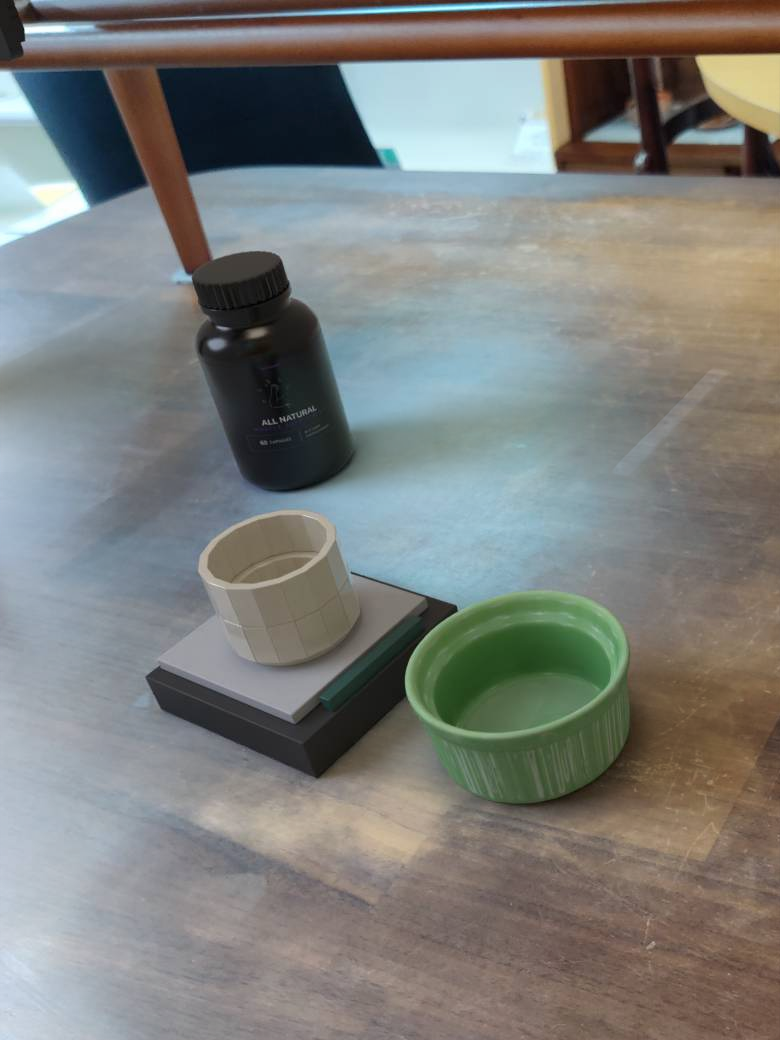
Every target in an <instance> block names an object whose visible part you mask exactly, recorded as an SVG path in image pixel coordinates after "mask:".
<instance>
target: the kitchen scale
mask: <svg viewBox="0 0 780 1040" xmlns="http://www.w3.org/2000/svg"><path fill="white" fill-rule="evenodd" d="M350 572H351V575H352V578H353V581H354V584H355V587H356V590H357V593H358V596H359V601H360V615H359V617H358V618H357V620H356V622H355V624H354V626H353V627H352V629H351V631H350V633H349V634H348V636H347V637H346V638H345V639H344V640H343V641H342V642H341V643H340V644H339V645H338V646H336V647H335V648H334V649H332V650H331V651H329V652H328V653H326V654H324V655H322V656H320V657H318V658H315V659H313V660H310V661H307V662H304V663H300V664H296V665H290V666H268V665H263V664H259V663H256V662H253V661H250V660H248V659H245V658H243V657H240V656H239V655H238V654H237V653H236V652H235V650H234V649H233V648H232V646H231V645H230V643H229V641H228V639H227V637H226V634H225V632H224V630H223V627H222V625H221V623H220V620H219V618H218V616H217V613H216V612H215V614H213V615H212V616H210V617H209V619H207V620H205V622H203V623H202V624H200V625H199V626H198V627H197V628H195V629H194V630H193V631H191V632H190V633H189V634H188V635H186V636H185V637H183V638H182V639H181V640H179V641H178V642H177V643H176V644H174V645H173V646H172V647H170V648H169V649H167V650H166V651H165V652H164V653H162V654H161V655H160V656H158V657H157V658H156V661H157V663H158V665H157V666H156V667H155V668H154V669H152V671H150V672H149V673H147V674H146V675H145V677H144V678H145V680H146V682H147V684H148V686H149V688H150V690H151V692H152V694H153V696H154V699H155V700H156V702H157V704H158V706H159V707H160V710H162V711H165V712H167V713H169V714H171V715H173V716H175V717H178V718H180V719H182V720H185V721H187V722H189V723H191V724H194V725H196V726H198V727H200V728H202V729H205V730H207V731H209V732H211V733H214V734H216V735H218V736H221V737H223V738H225V739H228V740H230V741H232V742H234V743H236V744H239V745H241V746H243V747H246V748H248V749H249V750H252V751H255V752H257V753H260V754H262V755H263V756H265V757H268V758H270V759H272V760H275V761H277V762H280V763H282V764H283V765H286V766H289V767H291V768H293V769H296V770H298V771H300V772H302V773H305V774H307V775H309V776H312V777H314V778H319V777H320V776H321V775H322V774H323V773H324V772H325V771H326V770H327V769H328V768H329V767H330V766H331V765H333V763H335V762H336V761H337V759H339V758H340V757H341V756H342V755H343V754H345V752H347V750H348V749H350V747H351V746H353V745H354V744H355V743H356V742H357V741H358V740H359V739H360V738H361V737H362V736H363V735H365V734H366V732H367V731H368V730H370V729H371V728H372V727H373V726H374V725H375V724H376V723H377V722H378V721H379V720H381V718H383V717H384V716H385V715H386V714H387V713H388V712H389V711H390V710H391V709H392V708H393V707H395V705H396V704H397V703H398V702H400V701H401V700H402V699H403V698H404V697H405V696H407V694H406V688H405V674H406V669H407V666H408V663H409V660H410V658H411V656H412V654H413V652H414V651H415V649H416V647H417V646H418V645H419V643H420V642H421V641H422V640H423V639H424V637H425V636H426V635H427V634H428V633H429V632H430V631H431V630H433V629H434V628H435V627H436V626H437V625H438V624H440V623H441V622H443V621H444V620H445V619H447V618H448V617H450V616H452V615H453V614H455V613H457V612H458V611H459V609H458V606H457V605H456V604H454V603H452V602H447V601H445V600H441V599H438V598H435V597H432V596H428V595H426V594H423V593H420V592H417V591H413V590H410V589H407V588H403V587H401V586H398V585H394V584H392V583H388V582H385V581H382V580H379V579H376V578H373V577H370V576H367V575H363V574H360V573H358V572H354V571H352V570H350Z"/></svg>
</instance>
